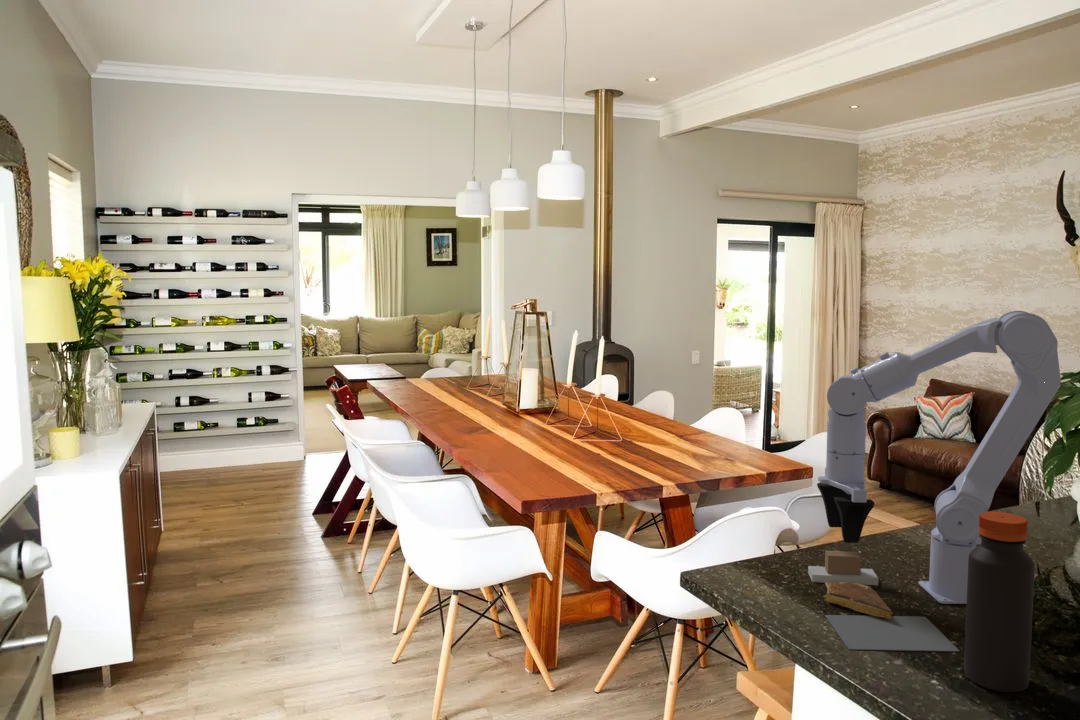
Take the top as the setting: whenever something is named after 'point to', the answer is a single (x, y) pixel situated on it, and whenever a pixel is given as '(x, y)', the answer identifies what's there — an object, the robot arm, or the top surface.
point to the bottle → (999, 605)
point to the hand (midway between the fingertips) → (843, 534)
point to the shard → (857, 598)
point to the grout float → (842, 569)
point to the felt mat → (890, 633)
